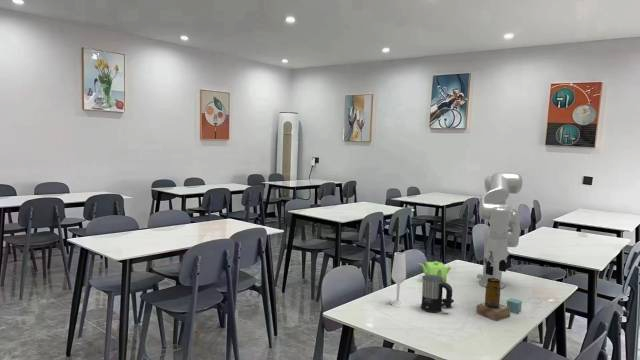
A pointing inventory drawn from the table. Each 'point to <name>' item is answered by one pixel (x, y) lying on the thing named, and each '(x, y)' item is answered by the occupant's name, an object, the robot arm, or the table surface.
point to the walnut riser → (493, 312)
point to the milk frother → (435, 294)
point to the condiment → (493, 294)
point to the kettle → (436, 269)
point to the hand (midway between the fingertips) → (495, 272)
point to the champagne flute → (398, 274)
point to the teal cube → (514, 305)
